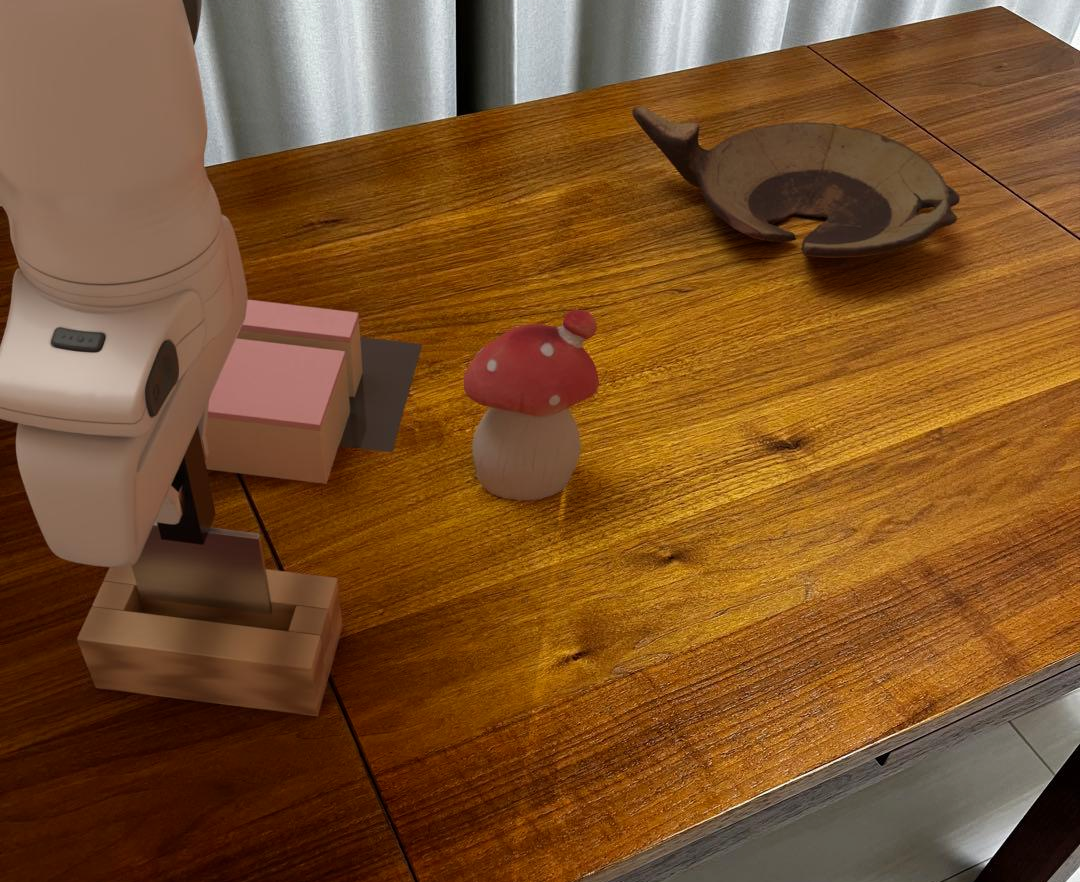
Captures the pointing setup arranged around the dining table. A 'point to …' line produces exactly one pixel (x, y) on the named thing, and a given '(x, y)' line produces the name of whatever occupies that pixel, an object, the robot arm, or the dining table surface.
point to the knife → (202, 552)
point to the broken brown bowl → (812, 183)
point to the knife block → (216, 644)
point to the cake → (278, 411)
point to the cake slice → (307, 331)
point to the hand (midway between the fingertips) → (179, 488)
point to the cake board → (380, 394)
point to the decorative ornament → (531, 406)
